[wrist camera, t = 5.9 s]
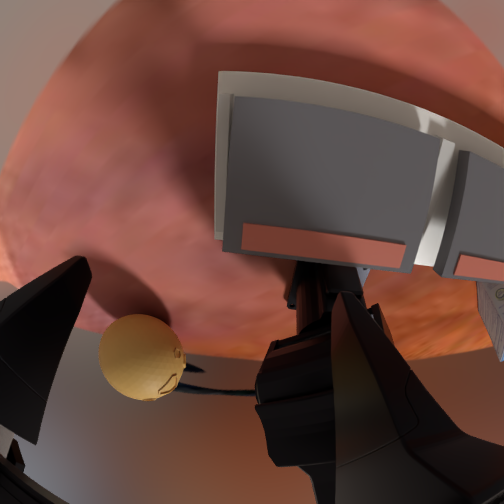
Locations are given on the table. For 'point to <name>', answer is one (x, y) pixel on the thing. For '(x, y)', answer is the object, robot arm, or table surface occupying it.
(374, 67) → the table surface
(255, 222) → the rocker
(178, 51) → the table surface
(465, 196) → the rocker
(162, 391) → the stress ball
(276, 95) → the light switch base
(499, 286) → the medicine box
